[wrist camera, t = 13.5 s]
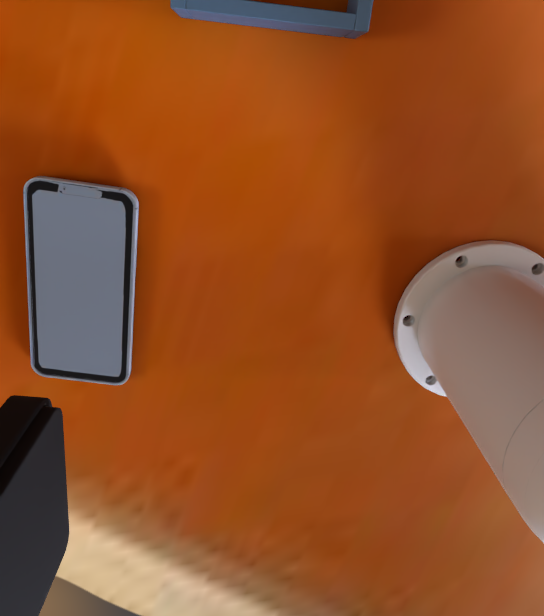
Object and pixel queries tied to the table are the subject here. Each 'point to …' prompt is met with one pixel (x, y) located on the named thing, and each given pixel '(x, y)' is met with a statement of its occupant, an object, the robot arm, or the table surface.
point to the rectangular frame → (281, 16)
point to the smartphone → (80, 278)
